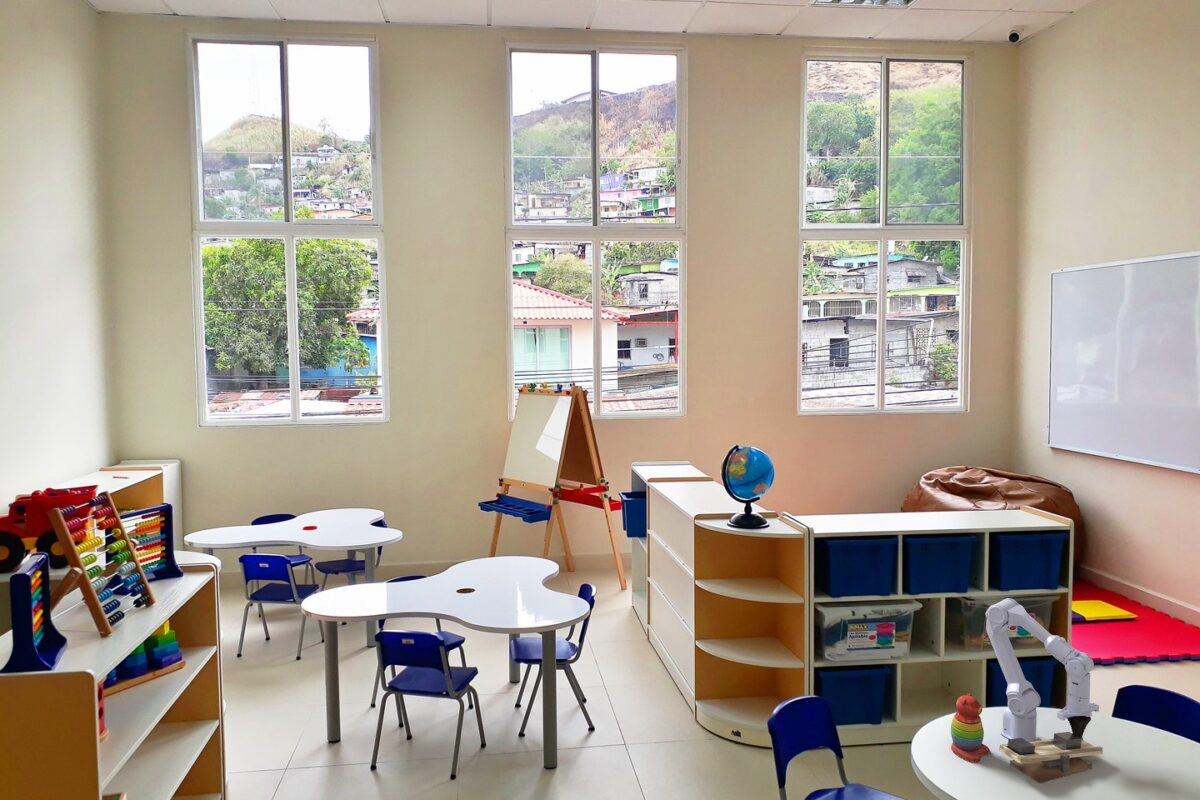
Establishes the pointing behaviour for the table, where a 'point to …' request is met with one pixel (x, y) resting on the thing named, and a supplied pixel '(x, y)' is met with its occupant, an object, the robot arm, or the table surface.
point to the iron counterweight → (1021, 746)
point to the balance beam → (1050, 751)
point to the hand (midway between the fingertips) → (1077, 737)
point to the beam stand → (1052, 767)
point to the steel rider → (1067, 741)
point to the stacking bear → (968, 730)
